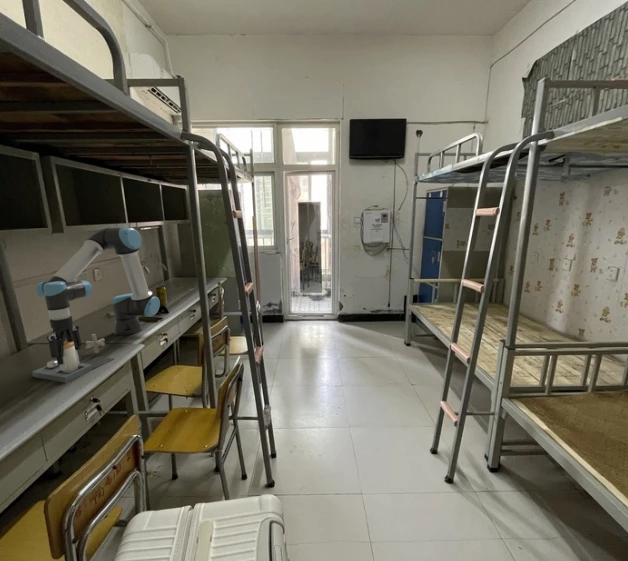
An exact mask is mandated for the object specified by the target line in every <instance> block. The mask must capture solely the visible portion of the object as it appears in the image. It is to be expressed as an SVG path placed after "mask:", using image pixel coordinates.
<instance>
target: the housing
mask: <svg viewBox="0 0 628 561" xmlns="http://www.w3.org/2000/svg"><path fill="white" fill-rule="evenodd" d="M84 363H85V362H80V363H79V364H78V367H79V370H77V371H75V372H73V373H71V374H69V375H68V374H63V371H62V370H60V365H59V367H56V368H54V369H52V370H50V369H48V368H47V365H45V366H43V367H39V368H38V369H36V370H33V371H32V377H33V378H38V379H43V380H49V381H55V382H60V383H64V384H65V383H66V384H67V383H69V382H71V381H73V380H75V379H77V378H78V377H81V376H83V375H85V374H87V373H90V372H91V371H93V370H94V368H92V365H91V364H84Z"/></svg>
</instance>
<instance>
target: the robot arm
mask: <svg viewBox="0 0 628 561" xmlns="http://www.w3.org/2000/svg"><path fill="white" fill-rule="evenodd" d="M141 247H142V236H141V234H140V233H139V231H138V230H136V229H135V228H132V227H125V226H124V227H122V226H121V227H104V228H102V229H100V230H97V231H96V232H94V233H92V234H91V235H90V236H89V237H87V239H86V240H85V241H84V242H83V246H82V247H81V248H80V249H79V250H77V252H76V253H75V254H74V255H73V256H72V257H71V258H70V259H69V260H67V262H65V264H63V266H62V267H61V268H60V269H58V271H56V273H55V274H54V275H53V276H52V277H51V278H50V279H49V280H47V281H41V282H39V283H38V284H36V287H35V292H36V294H37V295H38V296H39V297H41V298H44V300H45V305H46V308H47V314H48V318H49V324H50V328H51V329H52V333H51V335H47V336H46V339H47V341H48V345H49V351H50V358H54V359H56V360H57V361H58V364H59V365H60V370H62V371H66V370H68V369H67V364H66V359H65V356H63V346H64V342H66V341H74V346H75V351H76V356H77V362H78V364H79V363H81V362H80V357H79V356H80V352H79V350H81V347H82V341H81V335H80V330H79V329H80V327H79V325H73V324H74V322H73V321H74V320H73V317H72V310H71V305H70V302H71V301H75V300H78V299H81V298H85V297H87V296H89V295H91V294H92V293H93V285H92V284H91V283H90V282H89V281H88V280H78V281H75V280H76V279H77V278H79V276H80V275H81V274H82V272H84V270H85V269H86V268H87V267H88V266H89V265H90V264H91V263H92V262H93V261H94V260H95V259H96V257H97V256H99V255H102V254H104V252H106V251H108V250H114V251H115V252H114V253H115V254H116V255H117V256H119V257H120V260H121V262H122V265H123V268H124V272H125V275H126V278H127V281H128V283H129V287H130V289H131V290H130V291H131V292H130V293H129V292H128V293H124V294H121V295H120V294H119V295H117V296H114V297H113V298H112V308H113V309H112V310H113V314H114V319H115V320H114V321H115V322H114V328H113V334H114V335H115V336H129V335H132V334H136V333H139V332H141V331H142V330H143V325H142V324H141V322H140V320H139V318H138V316H139V317H152V316H155V315H156V314H157V313H158V311H159V309H160V306H161V302H160V299H159V297H157V296H154V293H153V291H152V290H150V289H149V287H148V284H147V283H148V282H147V280H146V277H145V273H144V270H143V266H142V264H141V259H140V256H139V255H138V254H139V252H140V248H141Z"/></svg>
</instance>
